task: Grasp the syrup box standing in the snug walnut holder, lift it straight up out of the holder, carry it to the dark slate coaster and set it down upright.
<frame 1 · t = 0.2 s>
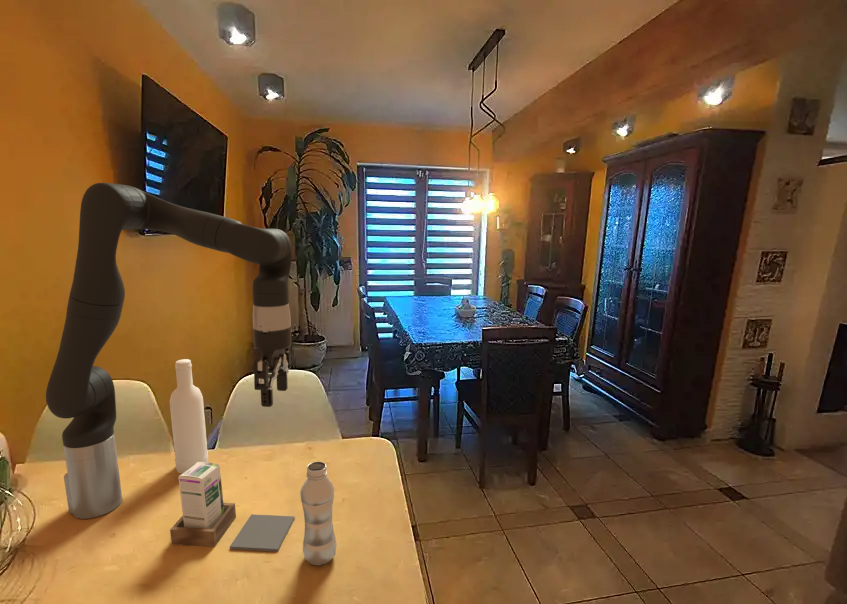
hand: (275, 397, 94), 29 cm above the table, fingers open, 8 cm apart
syrup box: (205, 531, 95), resting in holder
bottle: (192, 466, 119), on the table
plastic bottle: (320, 558, 87), on the table
coaster: (263, 533, 94), on the table
holder: (205, 530, 95), on the table
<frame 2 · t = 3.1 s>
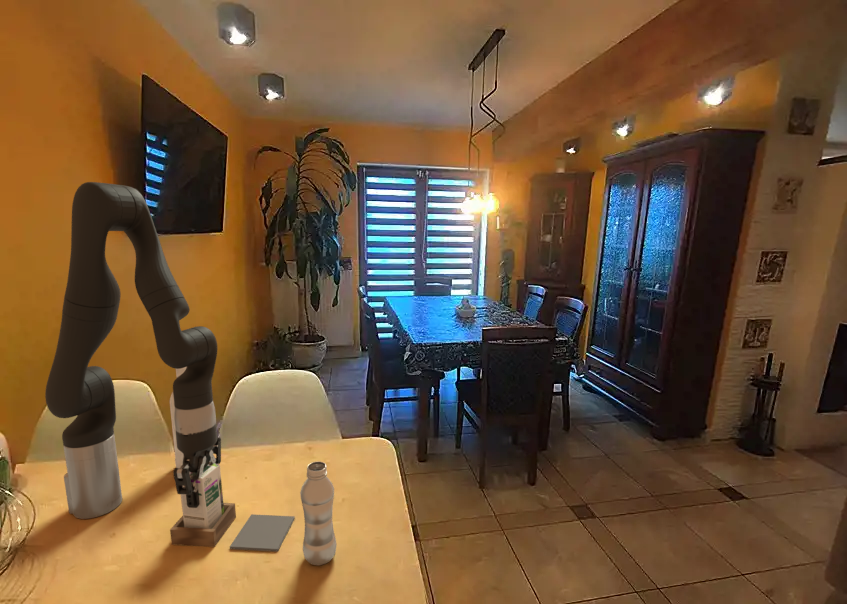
hand: (202, 496, 93), 8 cm above the table, fingers closed on syrup box, 6 cm apart
syrup box: (205, 531, 95), resting in holder, touching gripper
everything else where it was.
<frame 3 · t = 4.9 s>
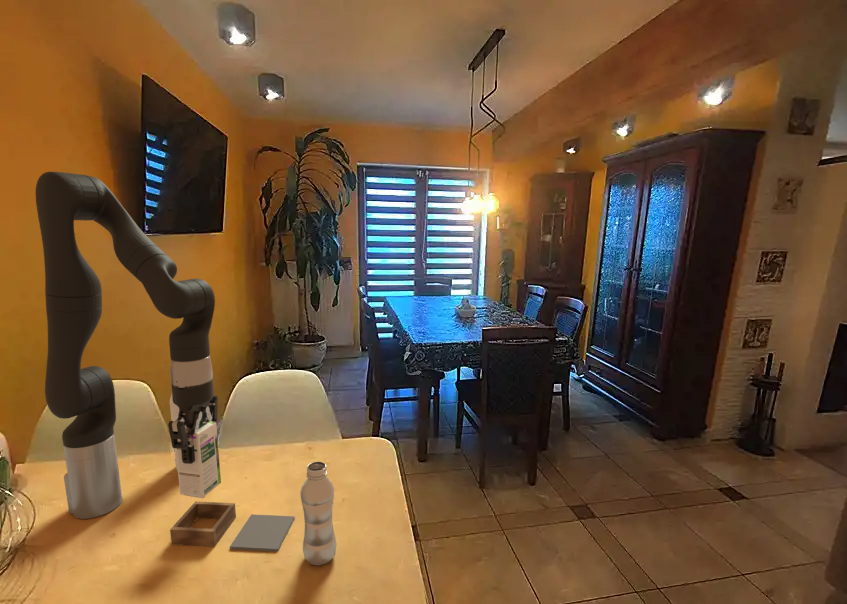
hand: (198, 453, 91), 18 cm above the table, fingers closed on syrup box, 6 cm apart
syrup box: (200, 489, 93), point 10 cm above the table, touching gripper
everything else where it was.
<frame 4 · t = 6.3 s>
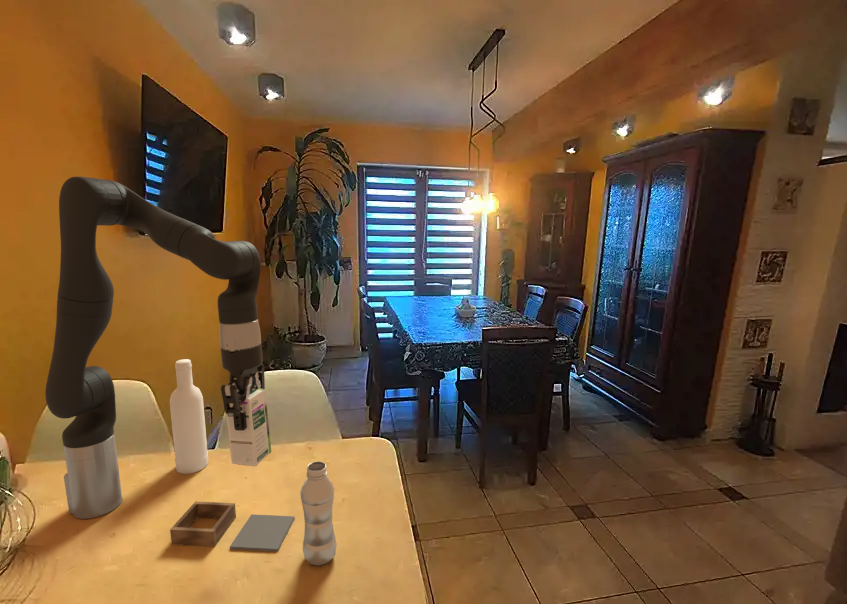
hand: (248, 421, 89), 26 cm above the table, fingers closed on syrup box, 6 cm apart
syrup box: (251, 459, 91), point 17 cm above the table, touching gripper
everything else where it was.
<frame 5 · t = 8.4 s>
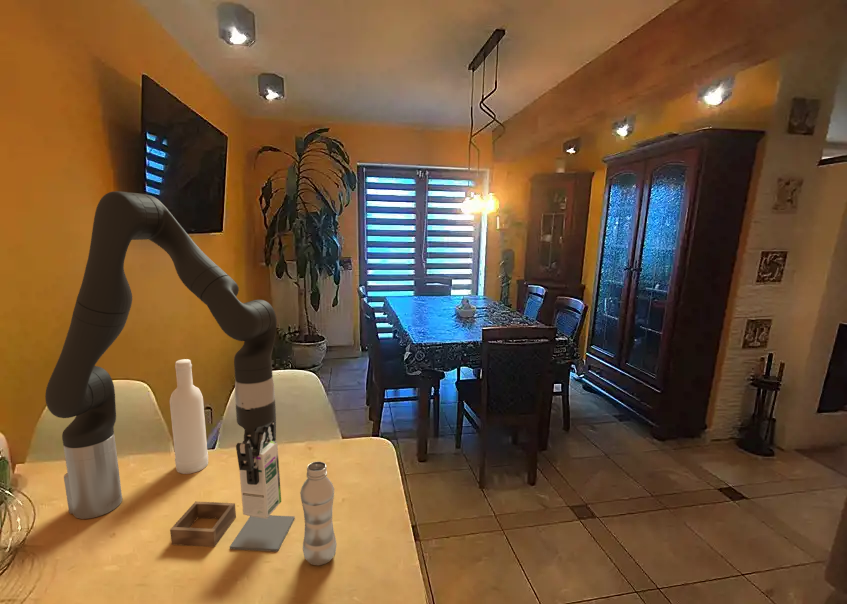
hand: (260, 474, 92), 14 cm above the table, fingers closed on syrup box, 6 cm apart
syrup box: (262, 509, 93), point 6 cm above the table, touching gripper
everything else where it was.
when the fingers open (10 cm above the table, at t = 9.8 s): syrup box drops 1 cm, resting on coaster.
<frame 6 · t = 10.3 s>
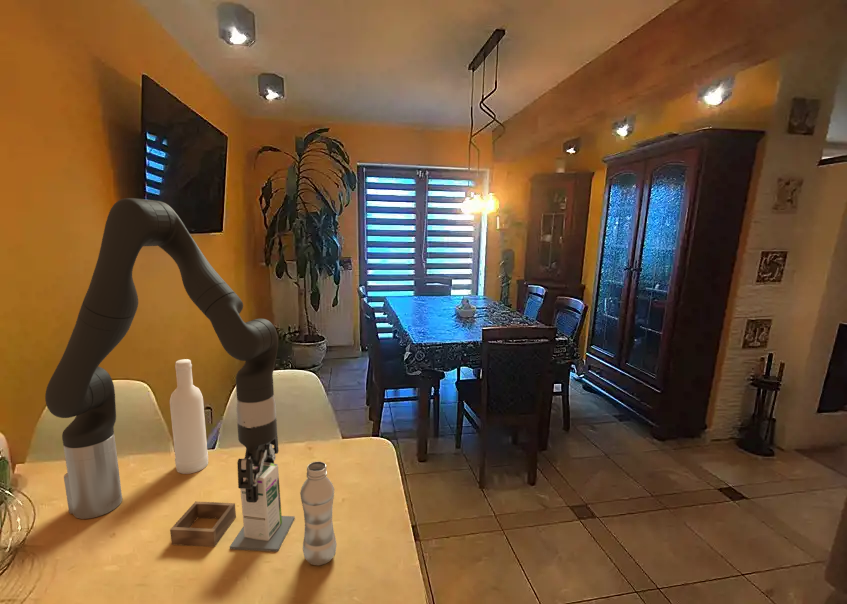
hand: (261, 488, 92), 11 cm above the table, fingers open, 8 cm apart
syrup box: (263, 531, 94), resting on coaster
everything else where it was.
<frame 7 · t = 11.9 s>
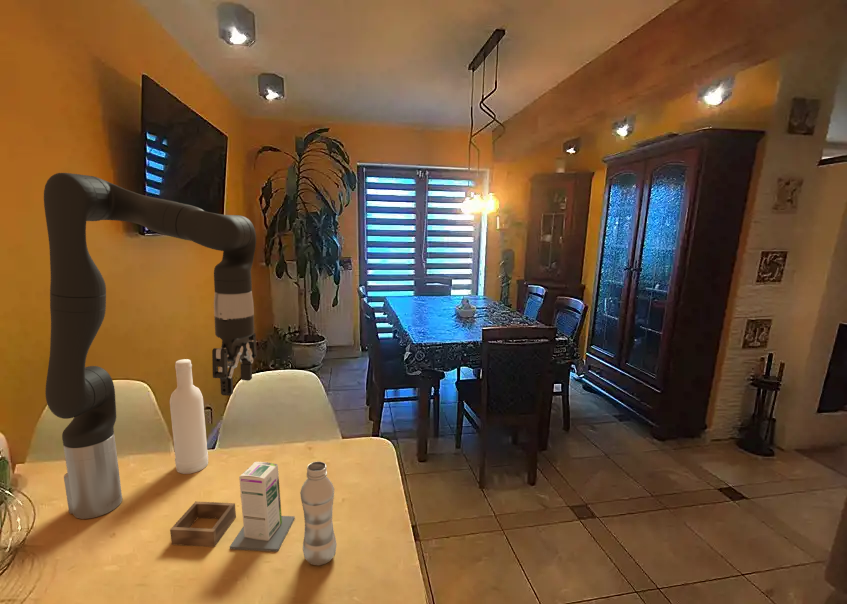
hand: (237, 387, 93), 31 cm above the table, fingers open, 8 cm apart
nothing on the table moved.
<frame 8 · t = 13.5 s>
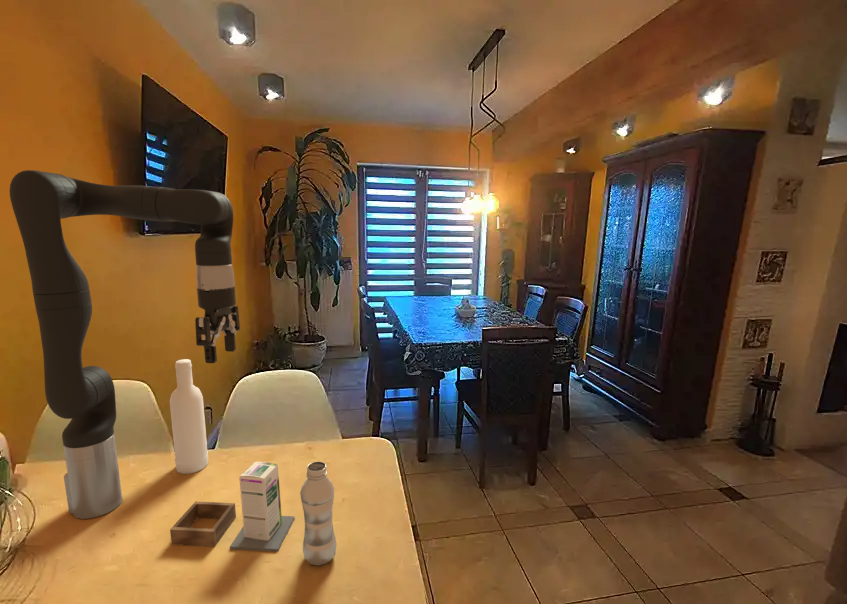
hand: (221, 356, 98), 36 cm above the table, fingers open, 8 cm apart
nothing on the table moved.
at the end: syrup box inside the target area on the coaster (0.1 cm from its centre), point 0.4 cm above the coaster's base; syrup box tilted 0°; the gripper is holding nothing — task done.
